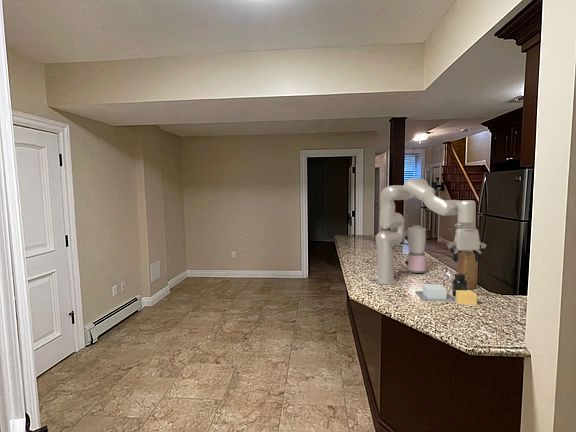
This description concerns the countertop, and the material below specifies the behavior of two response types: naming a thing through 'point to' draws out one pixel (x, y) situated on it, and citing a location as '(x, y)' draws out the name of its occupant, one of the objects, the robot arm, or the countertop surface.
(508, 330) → the countertop surface
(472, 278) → the block
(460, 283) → the supplement bottle
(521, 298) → the countertop surface
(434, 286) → the grey brick
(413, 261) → the blender
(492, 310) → the countertop surface
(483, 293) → the countertop surface
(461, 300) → the yellow cube
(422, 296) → the building plate
